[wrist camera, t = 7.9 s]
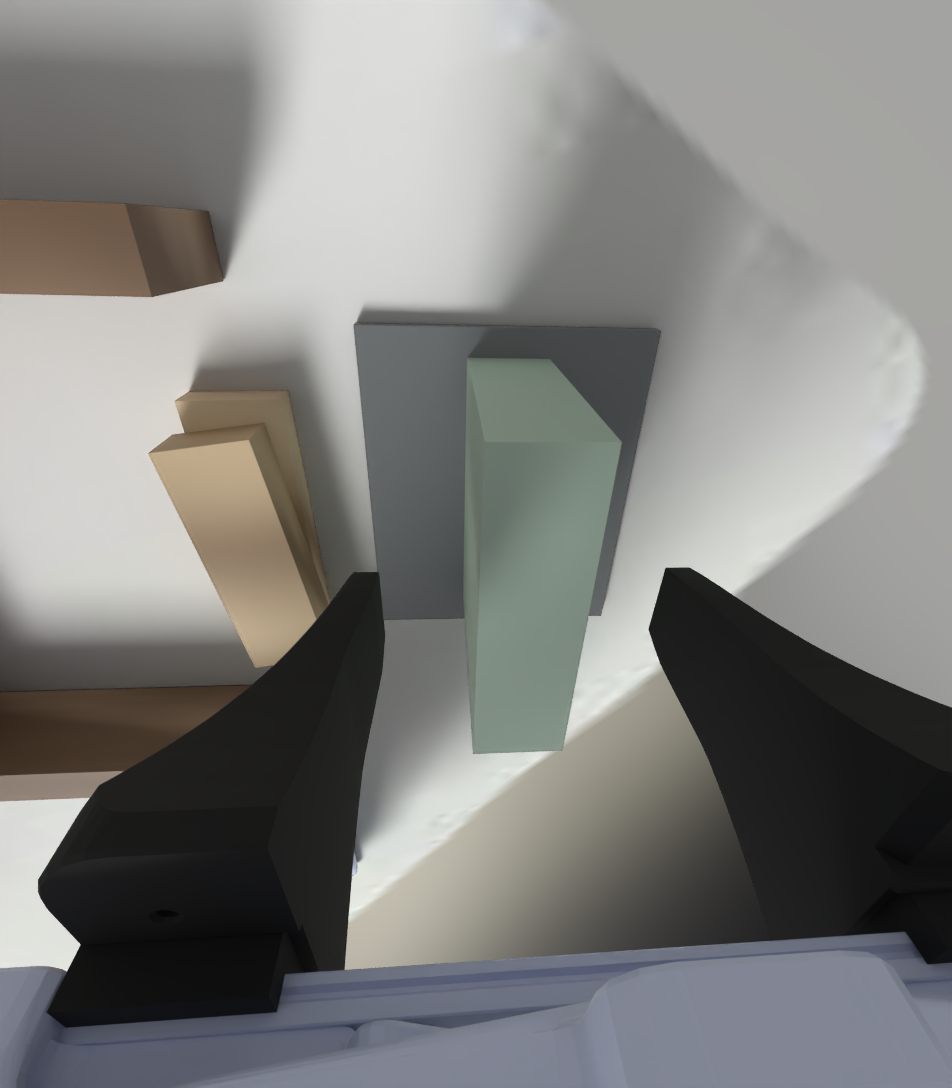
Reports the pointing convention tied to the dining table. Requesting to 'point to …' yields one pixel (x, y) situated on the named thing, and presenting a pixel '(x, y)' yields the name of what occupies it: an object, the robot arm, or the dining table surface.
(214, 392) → the offcut lower
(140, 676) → the dining table surface
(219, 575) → the offcut upper
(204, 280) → the frame
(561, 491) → the board
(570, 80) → the dining table surface
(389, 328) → the mat
